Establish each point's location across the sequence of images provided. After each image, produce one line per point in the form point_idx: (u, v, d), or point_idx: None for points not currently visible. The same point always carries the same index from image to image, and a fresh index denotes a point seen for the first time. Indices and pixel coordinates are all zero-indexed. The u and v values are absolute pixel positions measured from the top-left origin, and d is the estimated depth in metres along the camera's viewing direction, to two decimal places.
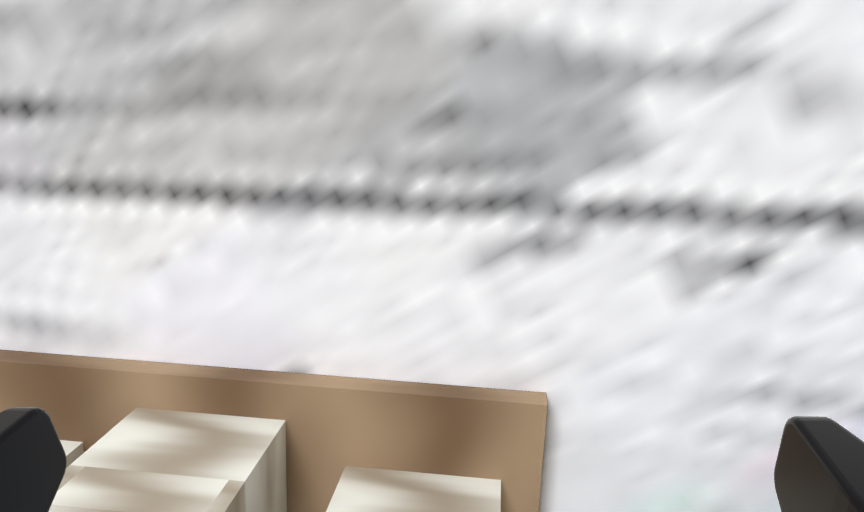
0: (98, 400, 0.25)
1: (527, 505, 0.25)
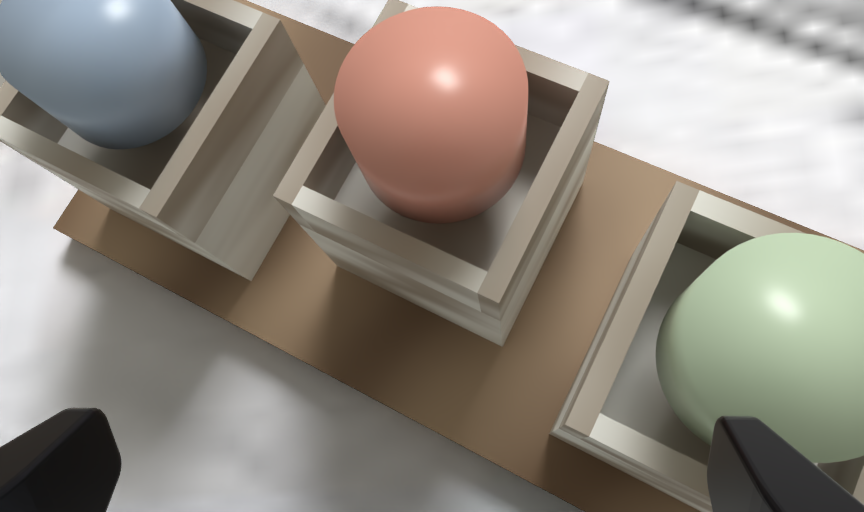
0: None
1: None
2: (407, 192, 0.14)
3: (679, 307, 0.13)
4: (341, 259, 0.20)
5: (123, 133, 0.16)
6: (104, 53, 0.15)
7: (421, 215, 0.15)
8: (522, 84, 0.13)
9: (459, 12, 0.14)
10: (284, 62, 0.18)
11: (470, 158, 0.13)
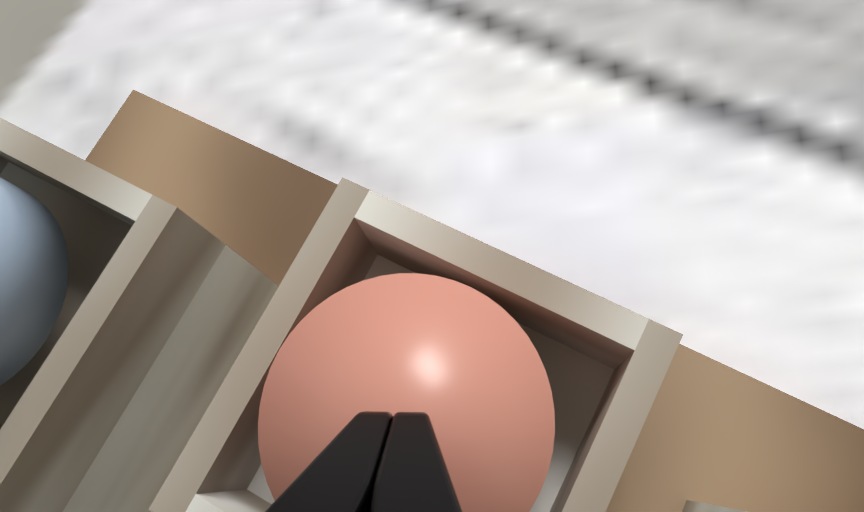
0: None
1: None
2: None
3: None
4: None
5: None
6: None
7: None
8: (545, 413, 0.09)
9: (449, 281, 0.09)
10: (191, 255, 0.12)
11: None
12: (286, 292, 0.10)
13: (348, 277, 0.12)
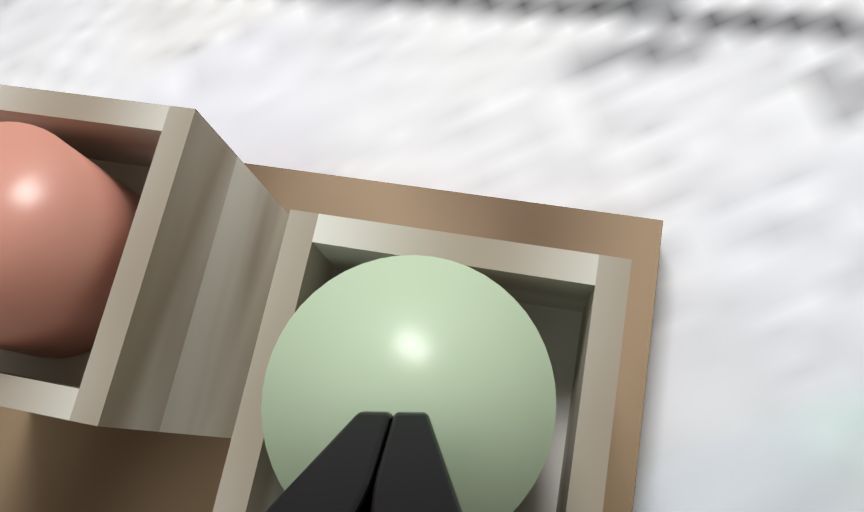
0: None
1: (627, 375, 0.16)
2: None
3: None
4: None
5: None
6: None
7: (45, 354, 0.13)
8: (82, 189, 0.12)
9: (8, 124, 0.12)
10: None
11: (34, 290, 0.11)
12: None
13: None
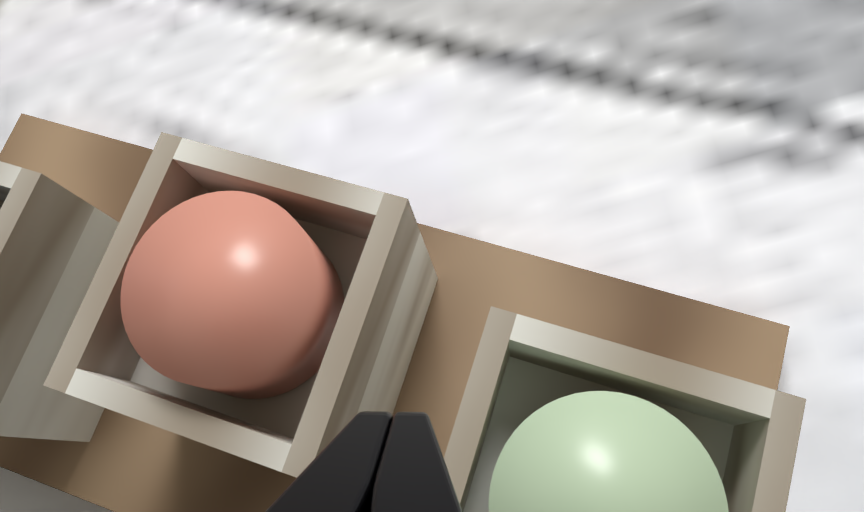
0: None
1: None
2: (211, 389, 0.13)
3: None
4: None
5: None
6: None
7: (241, 396, 0.14)
8: (309, 265, 0.13)
9: (242, 193, 0.14)
10: (63, 214, 0.16)
11: (262, 352, 0.13)
12: (128, 219, 0.14)
13: None
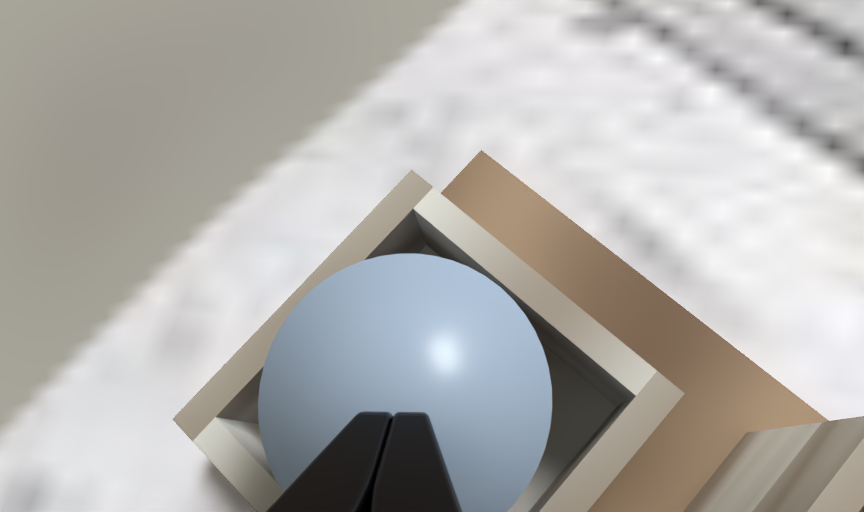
0: (697, 383, 0.16)
1: None
2: None
3: None
4: None
5: None
6: None
7: None
8: None
9: None
10: None
11: None
12: None
13: None
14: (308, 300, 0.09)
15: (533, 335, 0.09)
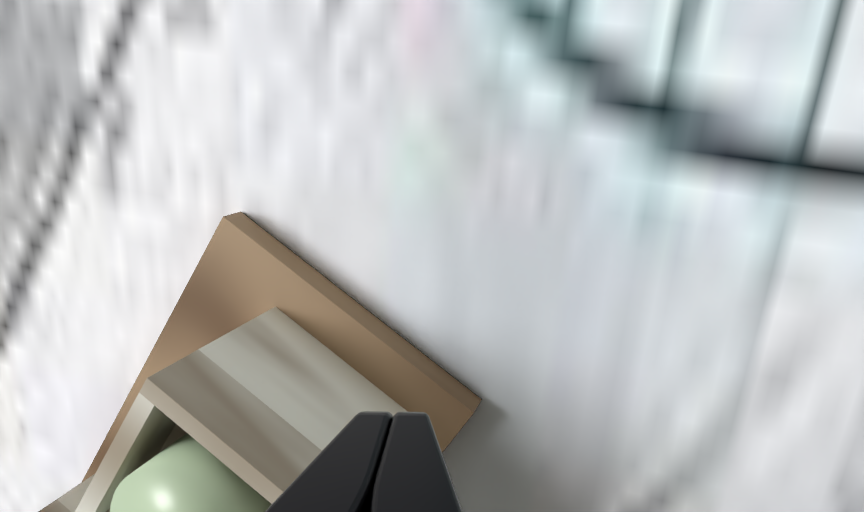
0: None
1: (311, 300, 0.22)
2: None
3: None
4: None
5: None
6: None
7: None
8: None
9: None
10: None
11: None
12: None
13: None
14: None
15: None
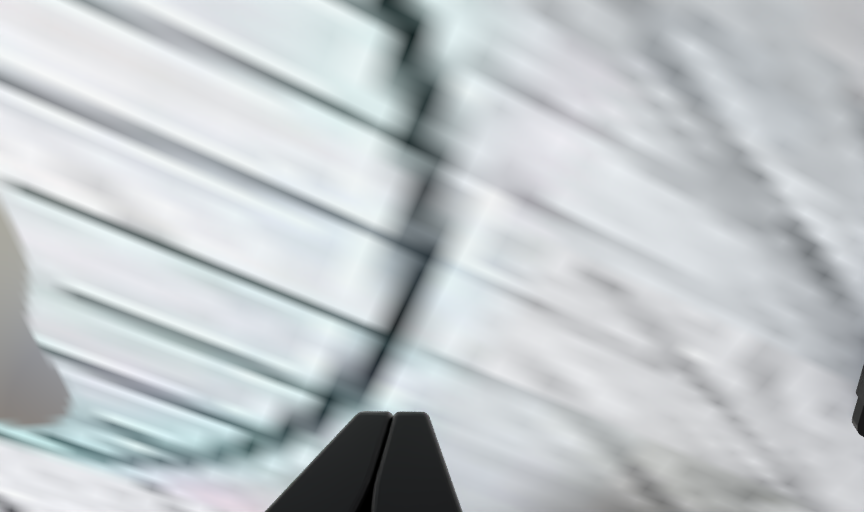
0: None
1: None
2: None
3: None
4: None
5: None
6: None
7: None
8: None
9: None
10: None
11: None
12: None
13: None
14: None
15: None
